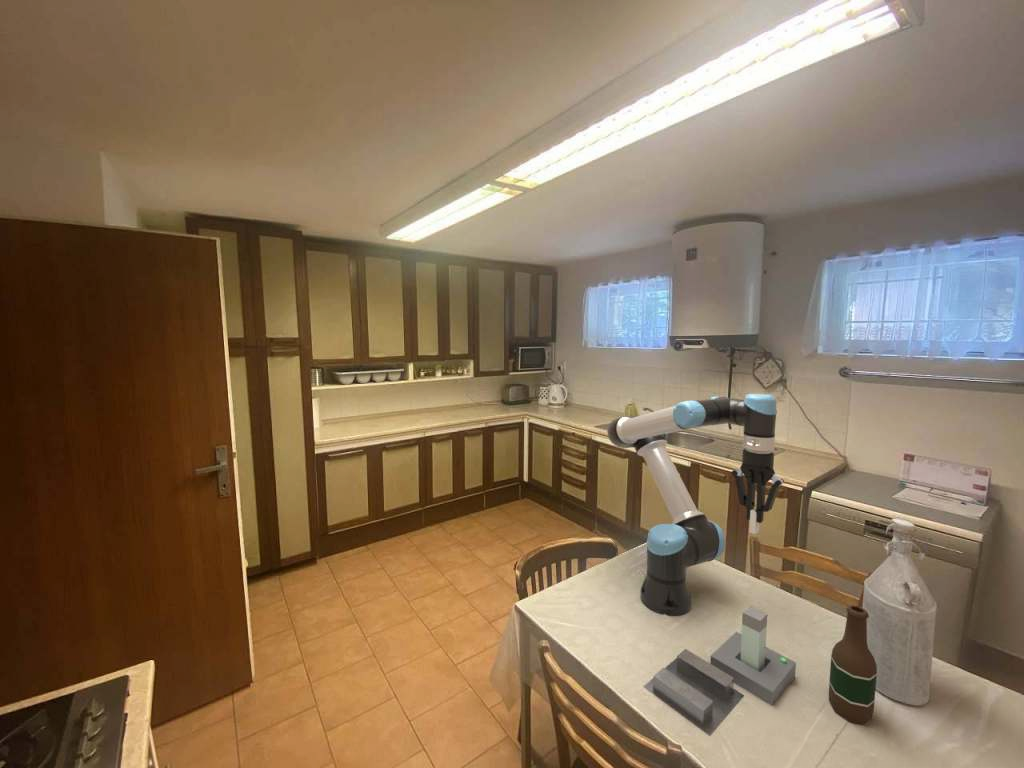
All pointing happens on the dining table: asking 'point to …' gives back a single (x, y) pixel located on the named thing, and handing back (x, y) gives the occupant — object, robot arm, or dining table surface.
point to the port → (758, 683)
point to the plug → (753, 638)
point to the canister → (900, 620)
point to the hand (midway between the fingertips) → (754, 531)
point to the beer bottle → (853, 671)
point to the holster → (696, 690)
